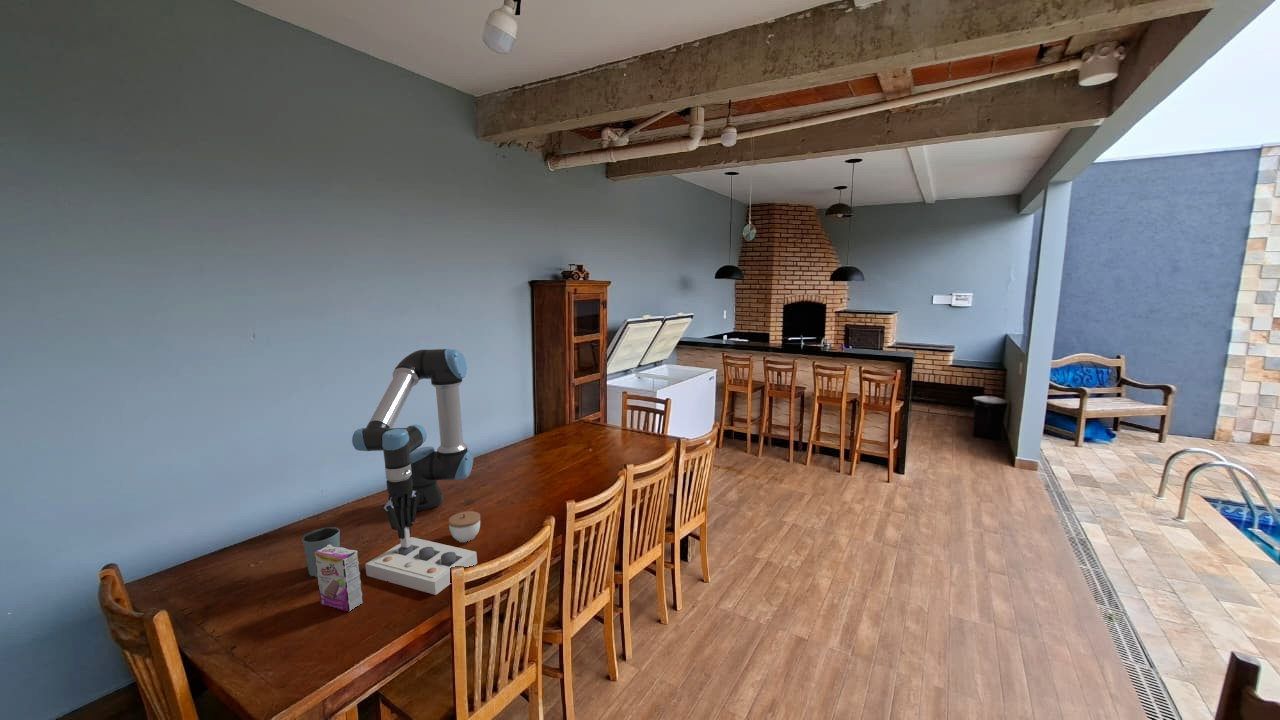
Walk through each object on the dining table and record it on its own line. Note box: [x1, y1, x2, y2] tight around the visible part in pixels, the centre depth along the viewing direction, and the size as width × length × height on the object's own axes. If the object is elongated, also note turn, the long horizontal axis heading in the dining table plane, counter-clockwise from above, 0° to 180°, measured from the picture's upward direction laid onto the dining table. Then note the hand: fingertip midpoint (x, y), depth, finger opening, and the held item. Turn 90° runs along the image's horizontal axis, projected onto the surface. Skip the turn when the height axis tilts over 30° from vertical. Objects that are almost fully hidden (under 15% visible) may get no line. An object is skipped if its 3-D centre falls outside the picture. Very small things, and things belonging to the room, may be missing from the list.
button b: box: [419, 547, 434, 561], centre depth 161 cm, size 4×4×3 cm
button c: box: [441, 552, 456, 567], centre depth 158 cm, size 4×4×3 cm
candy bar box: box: [314, 545, 364, 613], centre depth 141 cm, size 11×5×16 cm, turn 71°
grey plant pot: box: [301, 526, 341, 578], centre depth 160 cm, size 10×10×12 cm
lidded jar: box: [448, 510, 481, 543], centre depth 179 cm, size 11×11×9 cm
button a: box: [398, 545, 413, 556], centre depth 165 cm, size 4×4×3 cm
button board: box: [365, 536, 478, 596], centre depth 160 cm, size 18×28×4 cm, turn 68°
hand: (405, 545), depth 165 cm, fingers closed
